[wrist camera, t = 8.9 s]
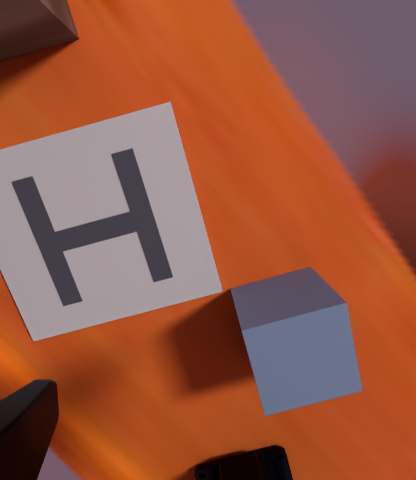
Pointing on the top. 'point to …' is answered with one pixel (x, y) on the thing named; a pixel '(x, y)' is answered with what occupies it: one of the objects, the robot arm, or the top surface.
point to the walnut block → (34, 26)
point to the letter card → (102, 224)
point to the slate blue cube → (297, 340)
